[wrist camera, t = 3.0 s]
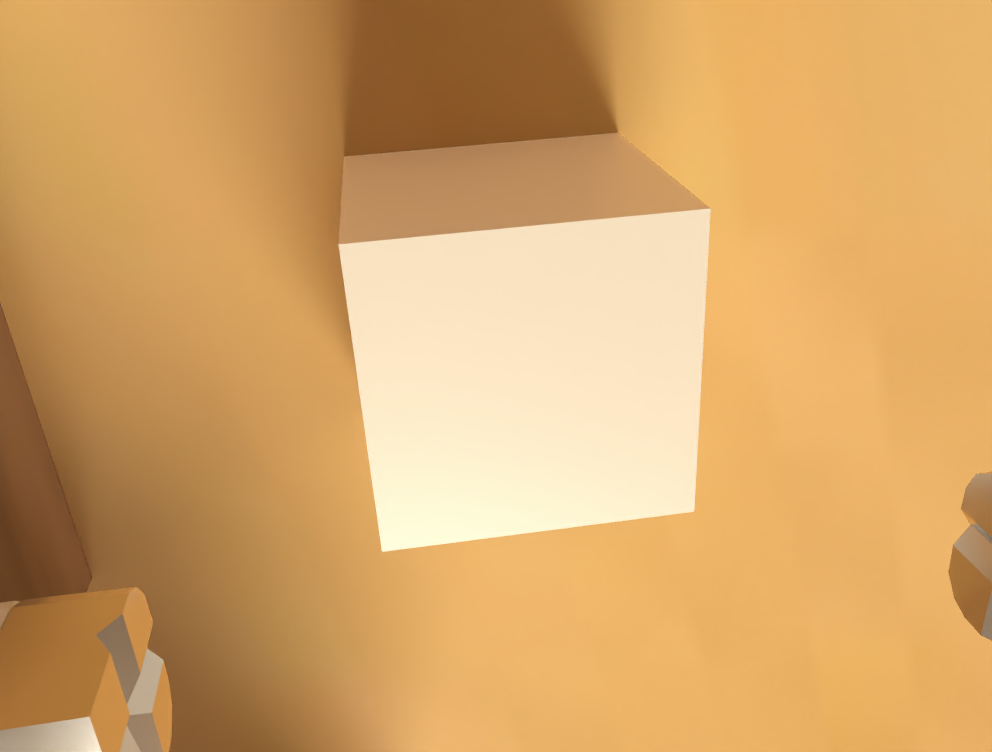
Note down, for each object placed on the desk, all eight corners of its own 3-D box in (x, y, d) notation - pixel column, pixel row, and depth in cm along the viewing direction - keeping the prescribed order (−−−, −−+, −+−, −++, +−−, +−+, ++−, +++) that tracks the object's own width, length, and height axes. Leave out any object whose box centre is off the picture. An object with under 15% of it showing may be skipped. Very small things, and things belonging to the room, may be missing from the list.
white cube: (616, 131, 17) (710, 208, 12) (615, 372, 19) (694, 511, 14) (343, 155, 16) (338, 244, 12) (376, 399, 18) (381, 551, 14)
